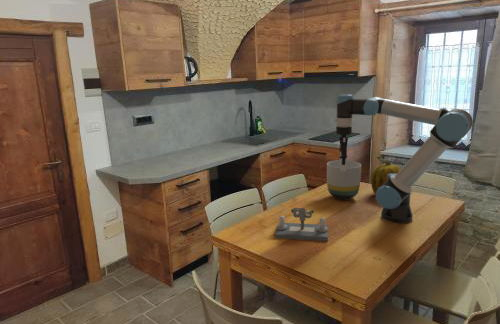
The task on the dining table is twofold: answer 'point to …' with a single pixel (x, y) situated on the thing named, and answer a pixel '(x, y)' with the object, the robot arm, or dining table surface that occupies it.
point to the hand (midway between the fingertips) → (342, 167)
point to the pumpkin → (382, 173)
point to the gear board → (307, 233)
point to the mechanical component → (302, 215)
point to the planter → (343, 179)
